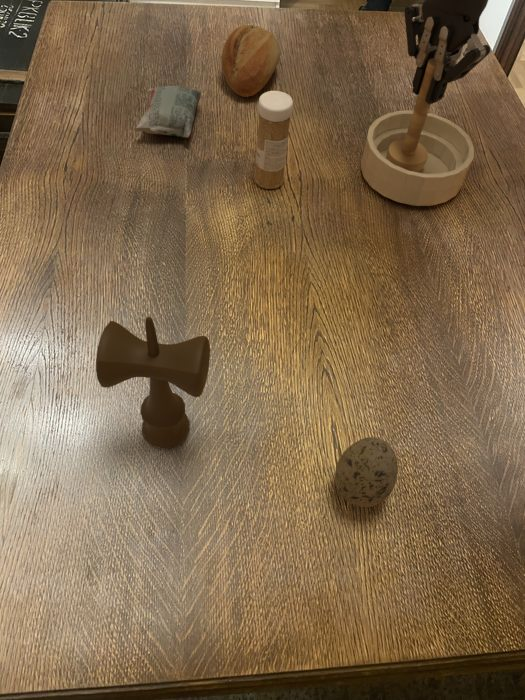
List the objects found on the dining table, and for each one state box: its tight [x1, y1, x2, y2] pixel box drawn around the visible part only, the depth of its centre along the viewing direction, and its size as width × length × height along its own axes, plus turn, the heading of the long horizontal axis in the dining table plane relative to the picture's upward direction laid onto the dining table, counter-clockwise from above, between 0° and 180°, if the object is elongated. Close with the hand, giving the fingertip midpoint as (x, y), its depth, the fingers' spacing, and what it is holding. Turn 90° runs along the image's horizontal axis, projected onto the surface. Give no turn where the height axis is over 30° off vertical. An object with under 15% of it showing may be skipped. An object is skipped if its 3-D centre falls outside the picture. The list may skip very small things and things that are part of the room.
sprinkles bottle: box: [253, 90, 294, 190], centre depth 85 cm, size 5×5×13 cm
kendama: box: [95, 316, 211, 449], centre depth 58 cm, size 6×10×20 cm, turn 83°
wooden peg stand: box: [386, 58, 437, 173], centre depth 86 cm, size 6×6×16 cm
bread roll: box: [220, 24, 282, 98], centre depth 103 cm, size 10×15×8 cm, turn 168°
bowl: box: [360, 110, 475, 207], centre depth 91 cm, size 16×16×6 cm
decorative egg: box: [334, 436, 399, 508], centre depth 59 cm, size 6×6×10 cm
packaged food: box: [133, 85, 202, 139], centre depth 95 cm, size 9×12×5 cm
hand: (425, 96), depth 84 cm, fingers closed on wooden peg stand
